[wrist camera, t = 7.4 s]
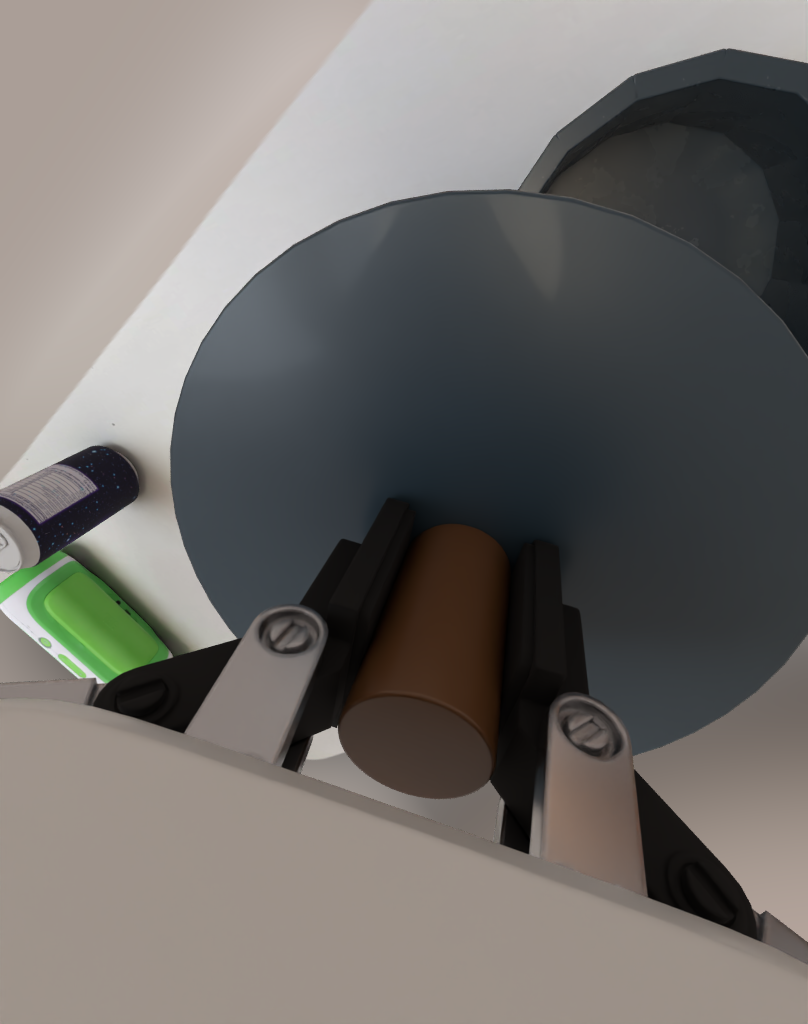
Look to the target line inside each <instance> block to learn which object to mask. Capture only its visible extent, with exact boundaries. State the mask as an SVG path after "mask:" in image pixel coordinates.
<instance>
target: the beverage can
mask: <svg viewBox="0 0 808 1024" xmlns="http://www.w3.org/2000/svg"><path fill="white" fill-rule="evenodd" d="M138 493H139V479H138V474H137V471H136V469H135V467H134V466H133V464H132V463H131V462H130V461H129V460H128V459H127V458H126V457H125V456H123V455H122V454H120V453H118V452H116V451H114V450H111V449H109V448H107V447H103V446H92V447H89V448H87V449H85V450H83V451H81V452H79V453H76V454H74V455H72V456H70V457H68V458H66V459H64V460H62V461H60V462H58V463H56V464H53V465H51V466H49V467H47V468H45V469H43V470H41V471H39V472H37V473H35V474H33V475H30V476H28V477H26V478H24V479H22V480H20V481H18V482H16V483H14V484H12V485H9V486H7V487H5V488H3V489H1V490H0V572H3V573H14V572H17V571H19V570H20V569H24V568H30V567H34V566H37V565H38V564H40V563H41V562H43V561H44V560H46V559H47V558H49V557H50V556H52V555H53V554H55V553H56V552H58V551H59V550H61V549H62V548H64V547H65V546H67V545H68V544H70V543H71V542H73V541H75V540H76V539H78V538H79V537H81V536H82V535H84V534H85V533H87V532H88V531H90V530H91V529H93V528H94V527H96V526H97V525H99V524H100V523H102V522H103V521H105V520H106V519H108V518H109V517H111V516H112V515H114V514H115V513H117V512H118V511H120V510H121V509H123V508H124V507H126V506H127V505H129V504H130V503H132V502H133V501H134V500H135V499H136V498H137V496H138Z"/></svg>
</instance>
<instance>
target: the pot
mask: <svg viewBox="0 0 808 1024" xmlns="http://www.w3.org/2000/svg"><path fill="white" fill-rule="evenodd" d="M518 190H519V191H526V192H534V193H542V194H549V195H557V196H565V197H572V198H576V199H579V200H582V201H586V202H589V203H593V204H596V205H599V206H603V207H606V208H610V209H613V210H616V211H620V212H623V213H627V214H630V215H633V216H635V217H637V218H640V219H642V220H644V221H646V222H648V223H650V224H652V225H654V226H656V227H658V228H660V229H663V230H665V231H667V232H669V233H671V234H673V235H675V236H677V237H679V238H681V239H683V240H685V241H688V242H690V243H691V244H693V245H694V246H695V247H697V248H698V249H700V250H701V251H703V252H704V253H705V254H707V255H708V256H710V257H711V258H713V259H714V260H715V261H717V262H718V263H720V264H721V265H722V266H724V267H725V268H727V269H728V270H730V271H731V272H732V273H734V274H735V275H737V276H738V277H740V278H741V279H742V280H743V281H744V282H745V283H746V284H747V285H748V286H749V287H750V288H751V289H752V290H753V291H754V292H755V293H756V294H757V295H758V296H759V297H760V298H761V299H762V300H763V301H764V302H765V303H766V304H767V305H768V306H769V307H770V308H771V309H772V310H773V311H774V312H775V313H776V314H777V315H778V316H779V317H780V318H781V319H782V320H783V322H784V323H785V325H786V326H787V328H788V329H789V330H790V332H791V333H792V335H793V336H794V338H795V339H796V341H797V342H798V343H799V345H800V346H801V348H802V349H803V351H804V352H805V354H806V355H807V356H808V63H804V62H799V61H794V60H789V59H783V58H778V57H773V56H767V55H762V54H757V53H751V52H746V51H741V50H736V49H730V48H729V49H721V50H717V51H714V52H711V53H707V54H704V55H700V56H697V57H693V58H690V59H686V60H683V61H679V62H676V63H672V64H669V65H665V66H662V67H658V68H655V69H651V70H648V71H644V72H641V73H637V74H635V75H634V76H631V77H629V78H628V79H627V80H625V81H624V82H623V83H621V84H620V85H619V86H617V87H616V88H615V89H614V90H612V91H611V92H610V93H608V94H607V95H606V96H604V97H603V98H602V99H600V100H599V101H598V102H596V103H595V104H594V105H593V106H591V107H590V108H589V109H587V110H586V111H585V112H583V113H582V114H581V115H579V116H578V117H577V118H576V119H574V120H573V121H572V122H570V123H569V124H568V125H566V126H565V127H564V128H562V129H561V130H560V131H559V132H557V133H556V135H555V136H553V138H552V139H551V141H550V142H549V144H548V146H547V147H546V149H545V150H544V152H543V153H542V155H541V156H540V158H539V159H538V161H537V162H536V164H535V165H534V167H533V168H532V170H531V171H530V173H529V174H528V176H527V177H526V179H525V180H524V182H523V183H522V185H521V186H520V188H519V189H518Z"/></svg>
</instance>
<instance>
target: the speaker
mask: <svg viewBox="0 0 808 1024" xmlns="http://www.w3.org/2000/svg"><path fill="white" fill-rule="evenodd" d="M0 609H1V610H2V611H3V612H4V614H6V615H7V617H9V618H10V619H11V620H12V621H13V622H14V623H15V624H16V625H17V626H19V627H20V628H21V629H22V630H23V631H24V632H25V633H27V634H28V635H29V636H30V637H31V638H32V639H33V640H35V641H36V642H37V643H38V644H39V645H40V646H41V647H43V648H44V649H45V650H46V651H47V652H48V653H49V654H51V655H52V656H53V657H54V658H55V659H56V660H57V661H59V662H60V663H61V664H62V665H63V666H64V667H66V668H67V669H68V670H69V671H70V672H71V673H72V674H73V675H75V676H76V677H77V678H78V679H80V678H96V680H97V684H101V683H108V682H109V681H111V680H112V679H114V678H115V677H117V676H119V675H120V674H122V673H124V672H126V671H129V670H131V669H134V668H137V667H140V666H144V665H147V664H151V663H155V662H158V661H162V660H165V659H169V658H172V657H173V655H172V654H171V652H170V651H169V649H168V648H167V647H166V645H165V644H164V643H163V642H162V641H161V640H160V639H159V638H158V637H157V635H156V634H155V633H154V631H153V630H152V628H151V627H150V626H149V625H148V624H147V623H146V622H145V621H144V620H143V619H142V618H141V617H140V616H139V615H138V614H137V613H136V612H134V611H133V610H132V609H131V608H130V607H129V606H128V605H127V604H126V603H125V602H124V601H123V600H122V599H121V598H120V597H119V596H118V595H117V594H116V593H115V592H114V591H113V590H112V589H111V588H110V587H108V586H107V585H106V584H105V583H104V582H103V581H102V580H101V579H100V578H98V577H97V576H95V575H94V574H92V573H91V572H89V571H88V570H87V569H86V568H85V567H84V566H83V565H81V564H80V563H79V562H77V561H76V560H75V559H73V558H72V557H70V556H69V555H67V554H65V553H63V552H61V551H60V550H59V551H58V552H56V553H55V554H53V555H52V556H50V557H49V558H47V559H46V560H44V561H43V562H41V563H40V564H38V565H37V566H34V567H30V568H24V569H20V570H19V571H17V572H15V573H14V574H12V575H11V576H9V577H8V578H7V579H5V580H4V581H3V582H1V583H0Z"/></svg>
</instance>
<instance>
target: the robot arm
mask: <svg viewBox="0 0 808 1024" xmlns="http://www.w3.org/2000/svg"><path fill="white" fill-rule="evenodd" d="M415 515H416V511H413V510H409V503H406V502H403V501H399V500H396V499H392V498H389V497H388V498H387V499H386V501H385V503H384V505H383V506H382V508H381V510H380V512H379V514H378V515H377V517H376V519H375V521H374V522H373V524H372V526H371V528H370V530H369V531H368V533H367V535H366V537H365V539H364V540H363V542H362V544H360V543H356V542H353V541H350V540H346V539H341V540H340V541H339V542H338V544H337V545H336V547H335V548H334V550H333V552H332V553H331V555H330V556H329V558H328V559H327V561H326V563H325V564H324V566H323V567H322V569H321V570H320V572H319V574H318V575H317V577H316V578H315V580H314V581H313V583H312V585H311V586H310V588H309V589H308V591H307V592H306V594H305V596H304V597H303V599H302V600H301V602H300V603H299V604H280V605H276V606H273V607H270V608H268V609H266V610H265V611H263V612H261V613H260V614H259V615H258V616H257V617H256V618H255V620H254V621H253V622H252V624H251V625H250V627H249V629H248V630H247V632H246V634H245V635H244V637H243V638H240V639H236V640H233V641H229V642H226V643H222V644H218V645H215V646H211V647H208V648H204V649H201V650H197V651H194V652H190V653H187V654H183V655H179V656H176V657H172V658H169V659H165V660H162V661H158V662H155V663H151V664H147V665H144V666H140V667H137V668H134V669H131V670H129V671H126V672H124V673H122V674H120V675H119V676H117V677H115V678H114V679H112V680H111V681H109V682H108V683H101V684H97V680H96V678H80V679H63V680H46V681H28V682H10V683H0V1024H808V942H807V941H805V940H804V939H803V938H801V937H800V936H799V935H797V934H796V933H795V932H794V931H792V930H791V929H790V928H788V927H787V926H786V925H784V924H783V923H782V922H780V921H779V920H778V919H777V918H775V917H774V916H773V915H771V914H770V913H769V912H767V911H765V912H763V913H762V914H761V915H760V914H758V913H757V912H756V911H754V910H753V909H752V907H751V904H750V902H749V900H748V899H747V897H746V895H745V893H744V891H743V889H742V888H741V886H740V885H739V883H738V882H737V881H736V880H735V878H734V877H733V876H732V875H731V873H730V872H729V871H728V870H727V869H726V867H725V866H724V865H723V864H722V863H721V862H720V861H719V860H718V859H717V858H716V857H715V856H714V855H713V853H712V852H711V851H710V850H709V849H708V848H707V847H706V846H705V845H704V844H703V843H702V842H701V841H700V839H699V838H698V837H697V836H696V835H695V834H694V833H693V832H692V831H691V830H690V829H689V828H688V827H687V825H686V824H685V823H684V822H683V821H682V820H681V819H680V818H679V817H678V816H677V815H676V814H675V813H674V811H673V810H672V809H671V808H670V807H669V806H668V805H667V804H666V803H665V802H664V801H663V800H662V799H661V798H660V796H658V794H657V793H656V792H655V791H654V790H653V789H652V788H651V787H650V786H649V785H648V783H647V782H646V781H645V780H644V779H643V778H642V777H641V776H640V775H639V774H638V773H637V772H636V771H635V770H634V765H633V756H632V747H631V741H630V737H629V733H628V730H627V729H626V727H625V725H624V724H623V722H622V720H621V719H620V718H619V717H618V716H617V714H616V713H615V712H614V711H613V710H612V709H611V708H609V707H608V706H607V705H605V704H604V703H603V702H601V701H600V700H598V699H596V698H594V697H592V696H590V695H589V688H588V678H587V669H586V660H585V651H584V642H583V632H582V623H581V615H580V610H579V609H578V608H575V607H572V606H569V605H565V604H563V603H562V588H561V572H560V556H559V546H557V545H554V544H550V543H547V542H543V541H540V540H536V539H535V540H534V541H533V543H532V544H528V543H524V544H523V546H522V549H521V551H520V554H519V557H518V559H517V562H516V564H515V567H514V569H513V572H512V574H511V581H510V594H509V607H508V620H507V632H506V645H505V658H504V671H503V683H502V696H501V709H500V722H499V735H498V748H497V761H496V768H495V770H494V773H493V775H492V776H491V778H490V780H491V783H492V785H493V786H494V787H495V789H496V790H497V792H498V793H499V795H500V796H501V797H500V801H499V804H498V810H497V817H496V825H495V832H494V839H493V842H492V841H489V840H486V839H484V838H481V837H478V836H476V835H472V834H470V833H467V832H464V831H461V830H458V829H456V828H453V827H450V826H447V825H444V824H442V823H439V822H436V821H433V820H430V819H428V818H425V817H422V816H419V815H416V814H413V813H410V812H408V811H405V810H402V809H399V808H396V807H393V806H391V805H388V804H385V803H382V802H379V801H376V800H374V799H371V798H368V797H365V796H362V795H359V794H356V793H353V792H351V791H348V790H345V789H342V788H340V787H337V786H334V785H331V784H328V783H325V782H322V781H320V780H316V779H314V778H311V777H308V776H305V775H302V774H301V771H302V768H303V765H304V762H305V760H306V757H307V754H308V751H309V749H310V746H311V743H312V740H313V735H314V734H317V733H319V732H322V731H324V730H326V729H329V728H331V726H332V727H335V728H337V726H338V721H339V718H340V715H341V712H342V710H343V707H344V705H345V702H346V700H347V697H348V695H349V692H350V690H351V688H352V685H353V683H354V680H355V678H356V675H357V673H358V670H359V668H360V666H361V663H362V661H363V658H364V656H365V653H366V651H367V648H368V646H369V643H370V641H371V639H372V636H373V634H374V631H375V629H376V626H377V624H378V621H379V619H380V616H381V614H382V612H383V609H384V607H385V604H386V602H387V599H388V597H389V594H390V592H391V589H392V587H393V584H394V582H395V580H396V577H397V575H398V572H399V570H400V567H401V565H402V562H403V560H404V557H405V555H406V552H407V550H408V545H409V541H410V537H411V533H412V528H413V524H414V520H415Z"/></svg>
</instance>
